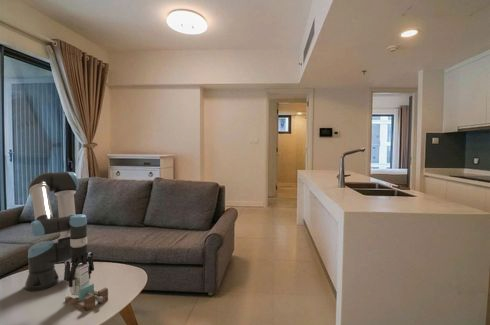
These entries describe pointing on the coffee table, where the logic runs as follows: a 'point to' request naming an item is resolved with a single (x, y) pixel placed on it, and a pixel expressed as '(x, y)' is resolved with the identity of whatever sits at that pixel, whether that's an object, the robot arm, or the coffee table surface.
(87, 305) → the lane
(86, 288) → the pusher
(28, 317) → the coffee table surface
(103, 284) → the coffee table surface
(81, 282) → the syrup box
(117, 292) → the coffee table surface
